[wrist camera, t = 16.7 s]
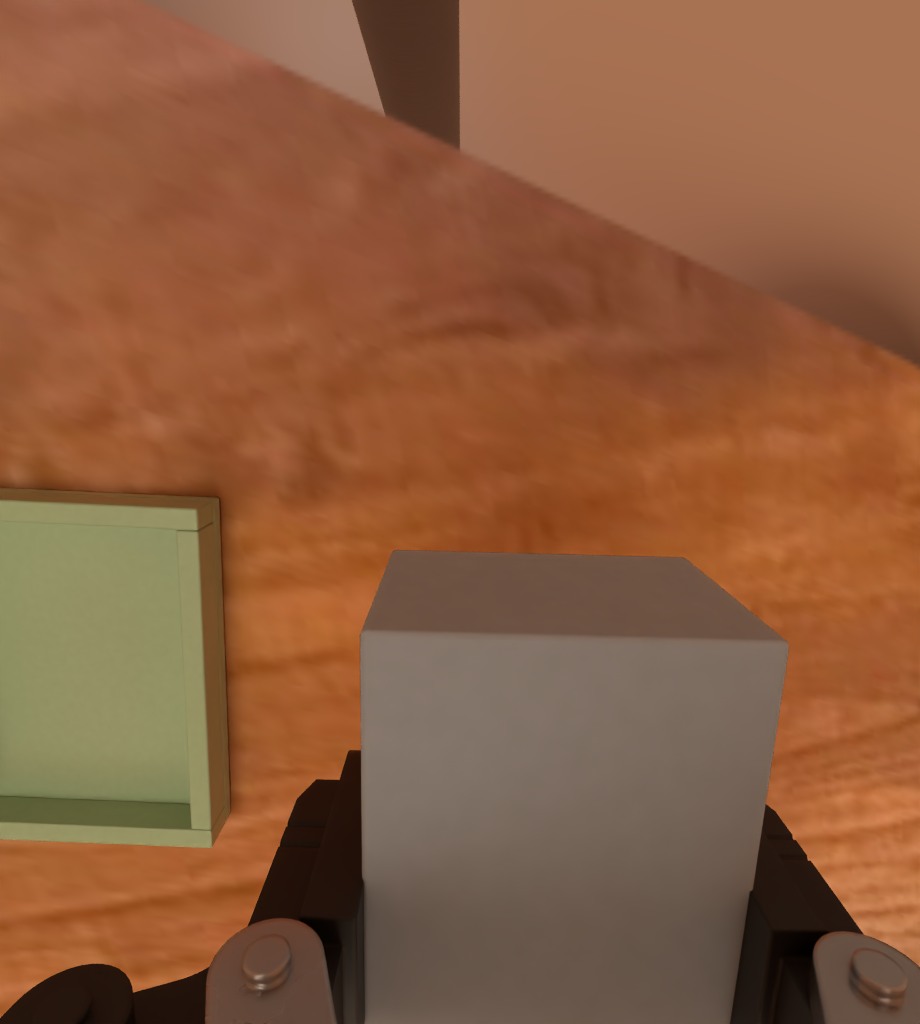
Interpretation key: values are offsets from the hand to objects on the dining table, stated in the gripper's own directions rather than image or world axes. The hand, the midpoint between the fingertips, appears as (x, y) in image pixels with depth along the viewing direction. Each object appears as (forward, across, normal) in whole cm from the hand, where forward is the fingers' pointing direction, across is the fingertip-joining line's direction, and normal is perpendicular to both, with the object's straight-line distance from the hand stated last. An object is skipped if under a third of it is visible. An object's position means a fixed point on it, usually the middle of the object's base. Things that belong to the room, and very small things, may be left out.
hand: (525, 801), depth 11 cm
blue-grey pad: (0, 0, 0) cm, 0 cm away
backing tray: (+13, +20, +4) cm, 24 cm away
